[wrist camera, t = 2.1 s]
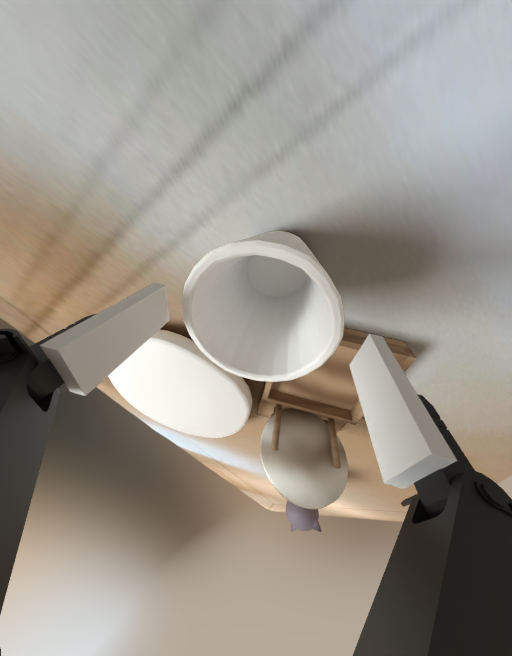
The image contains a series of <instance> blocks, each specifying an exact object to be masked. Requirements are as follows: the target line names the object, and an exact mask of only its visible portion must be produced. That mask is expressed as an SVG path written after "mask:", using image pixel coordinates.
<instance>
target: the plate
mask: <svg viewBox="0 0 512 656" xmlns="http://www.w3.org/2000/svg"><path fill="white" fill-rule="evenodd" d="M108 376H109V378H110V380H111V382H112V384H113V385H114V386H115V388H116V389H117V390H118V392H119V393H120V394H121V395H122V396H123V397H124V398H125V399H126V400H127V401H128V402H129V403H130V404H131V405H132V406H134V407H135V408H136V409H138V410H139V411H141V412H142V413H143V414H145V415H146V416H148V417H150V418H151V419H153V420H155V421H157V422H159V423H161V424H163V425H165V426H168V427H170V428H172V429H174V430H177V431H180V432H183V433H187V434H191V435H196V436H201V437H209V438H221V437H226V436H230V435H233V434H234V433H236V432H238V431H240V429H241V428H242V427H243V426H244V425H245V424H246V422H247V420H248V417H249V415H250V413H251V407H252V401H253V400H252V396H251V392H250V388H249V387H248V385H247V384H246V382H245V381H244V379H243V378H242V377H240V376H238V375H235V374H233V373H230V372H228V371H225V370H224V369H222V368H221V367H220V366H218V365H217V364H215V363H214V362H212V361H211V360H210V359H209V358H208V357H207V356H206V355H205V354H204V353H203V352H202V351H201V350H200V349H199V348H198V346H197V345H196V344H195V342H194V341H192V340H190V339H188V338H186V337H184V336H182V335H179V334H176V333H173V332H170V331H167V330H160V329H159V330H158V331H157V332H156V333H155V334H154V335H153V336H152V337H151V338H149V339H148V340H147V341H146V342H145V343H144V344H143V345H142V346H141V347H139V348H138V349H137V350H136V351H135V352H134V353H133V354H132V355H131V356H129V357H128V358H127V359H126V360H125V361H124V362H123V363H122V364H120V365H119V366H118V367H117V368H116V369H115V370H114V371H113V372H112V373H110V374H109V375H108Z"/></svg>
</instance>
